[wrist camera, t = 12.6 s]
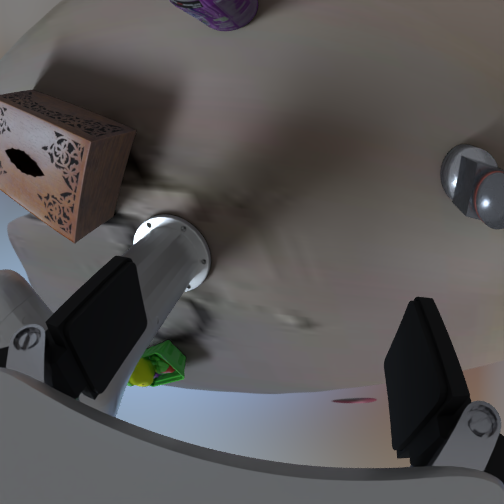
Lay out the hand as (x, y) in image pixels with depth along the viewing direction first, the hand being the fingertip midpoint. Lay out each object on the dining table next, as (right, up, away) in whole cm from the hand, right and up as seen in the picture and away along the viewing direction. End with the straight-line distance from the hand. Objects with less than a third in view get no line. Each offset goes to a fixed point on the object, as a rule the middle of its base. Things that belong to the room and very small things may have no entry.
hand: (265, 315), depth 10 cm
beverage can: (-3, +31, +17) cm, 36 cm away
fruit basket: (-18, -18, +47) cm, 53 cm away
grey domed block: (+26, +10, +18) cm, 33 cm away
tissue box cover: (-30, +19, +30) cm, 47 cm away
